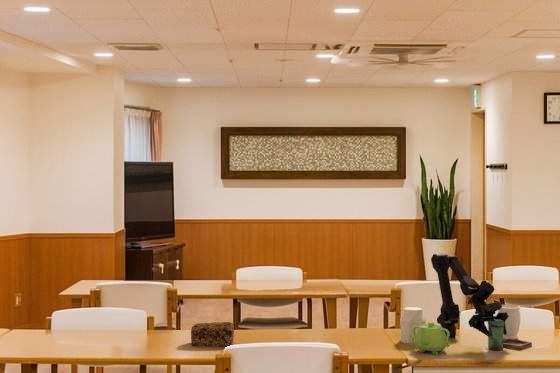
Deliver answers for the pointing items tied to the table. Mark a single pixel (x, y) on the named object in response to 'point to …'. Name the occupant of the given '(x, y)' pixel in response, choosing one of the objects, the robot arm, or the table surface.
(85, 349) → the table surface
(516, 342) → the walnut tray
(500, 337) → the tea canister
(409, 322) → the jar
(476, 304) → the robot arm
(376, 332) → the table surface
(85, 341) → the table surface
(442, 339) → the teapot
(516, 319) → the jar
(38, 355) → the table surface
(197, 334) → the bread
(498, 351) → the cork coaster
